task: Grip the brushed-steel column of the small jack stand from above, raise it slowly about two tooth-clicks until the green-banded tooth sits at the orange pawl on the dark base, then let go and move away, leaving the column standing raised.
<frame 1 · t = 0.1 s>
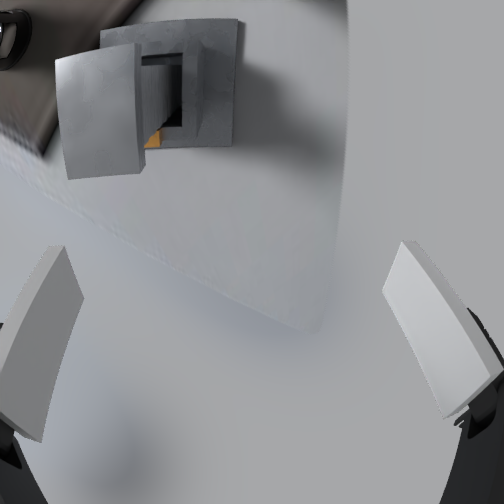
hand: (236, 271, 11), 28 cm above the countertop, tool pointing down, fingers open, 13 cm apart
french press: (7, 37, 20), on the countertop
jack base: (166, 83, 30), on the countertop
column: (142, 92, 20), point 11 cm above the countertop, slide at 0.0 cm
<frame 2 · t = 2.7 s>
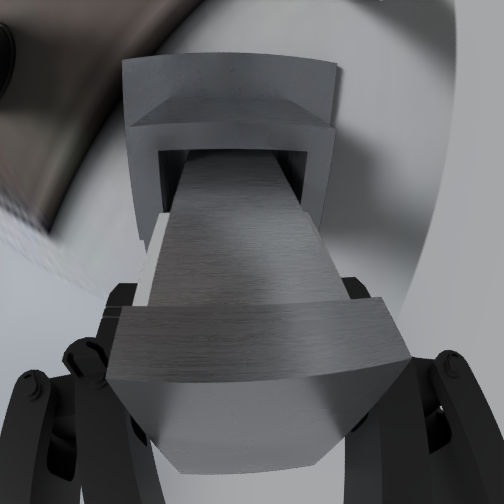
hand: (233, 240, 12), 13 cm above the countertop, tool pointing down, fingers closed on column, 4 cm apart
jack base: (226, 149, 23), on the countertop
column: (232, 219, 14), point 11 cm above the countertop, slide at 0.0 cm, touching gripper
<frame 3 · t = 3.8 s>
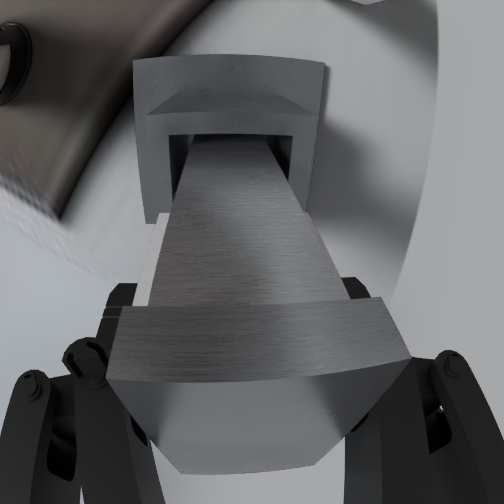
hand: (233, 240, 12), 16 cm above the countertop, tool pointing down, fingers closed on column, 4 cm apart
french press: (0, 60, 16), on the countertop
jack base: (226, 140, 25), on the countertop
column: (232, 219, 14), point 14 cm above the countertop, slide at 2.9 cm, touching gripper
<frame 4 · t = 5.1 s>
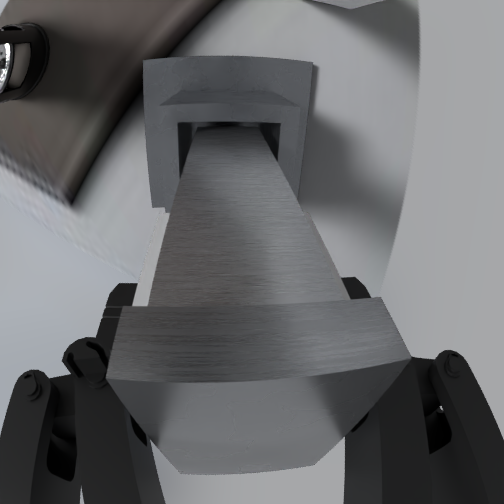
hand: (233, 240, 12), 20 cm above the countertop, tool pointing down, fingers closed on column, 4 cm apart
french press: (17, 58, 19), on the countertop
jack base: (225, 132, 28), on the countertop
column: (232, 219, 14), point 18 cm above the countertop, slide at 6.4 cm, touching gripper
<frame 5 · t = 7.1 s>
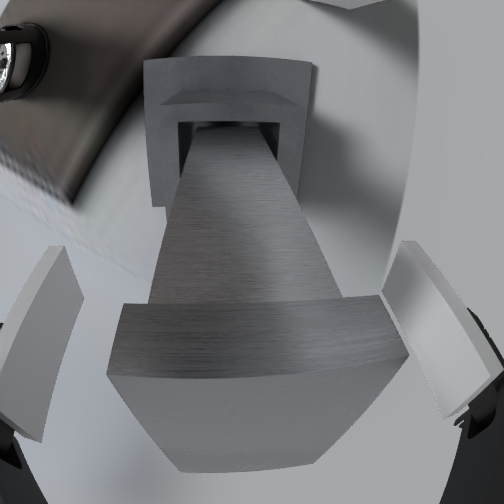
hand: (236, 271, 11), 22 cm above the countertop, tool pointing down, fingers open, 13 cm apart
french press: (18, 57, 19), on the countertop
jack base: (225, 131, 28), on the countertop
column: (231, 218, 14), point 18 cm above the countertop, slide at 6.6 cm
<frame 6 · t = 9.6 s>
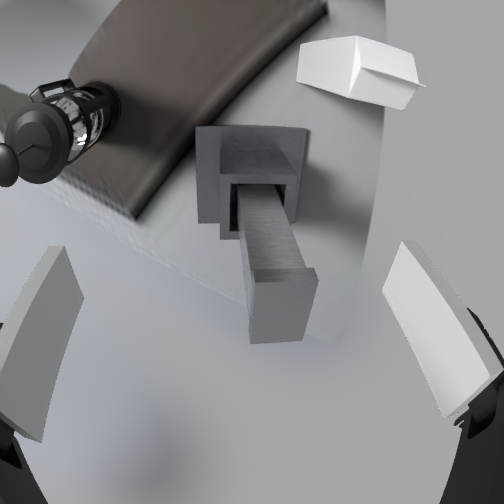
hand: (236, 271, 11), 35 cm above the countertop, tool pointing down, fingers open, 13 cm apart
milk: (317, 65, 35), on the countertop
french press: (92, 108, 35), on the countertop
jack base: (248, 175, 45), on the countertop
column: (264, 240, 31), point 18 cm above the countertop, slide at 6.6 cm
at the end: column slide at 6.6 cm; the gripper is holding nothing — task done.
